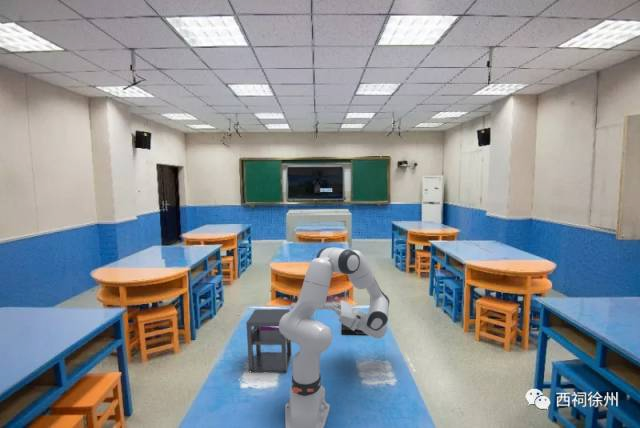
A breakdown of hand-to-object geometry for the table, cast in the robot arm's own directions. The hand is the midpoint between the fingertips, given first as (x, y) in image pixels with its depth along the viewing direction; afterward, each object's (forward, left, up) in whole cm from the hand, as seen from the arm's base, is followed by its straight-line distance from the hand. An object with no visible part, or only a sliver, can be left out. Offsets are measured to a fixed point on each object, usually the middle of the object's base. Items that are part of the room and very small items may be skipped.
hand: (331, 305), depth 158 cm
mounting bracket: (+28, +38, -32) cm, 57 cm away
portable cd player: (+39, -13, -32) cm, 52 cm away
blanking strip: (0, +9, -2) cm, 9 cm away
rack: (0, +33, -32) cm, 45 cm away
